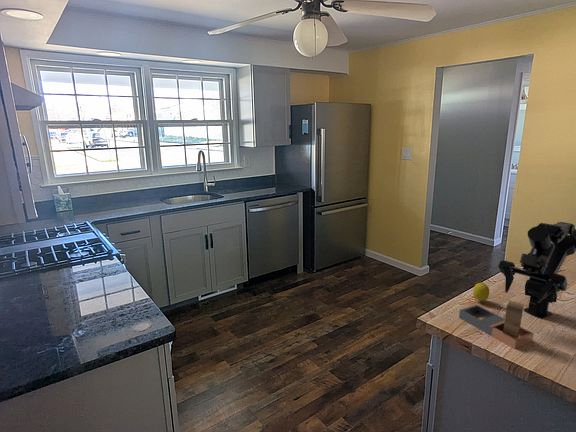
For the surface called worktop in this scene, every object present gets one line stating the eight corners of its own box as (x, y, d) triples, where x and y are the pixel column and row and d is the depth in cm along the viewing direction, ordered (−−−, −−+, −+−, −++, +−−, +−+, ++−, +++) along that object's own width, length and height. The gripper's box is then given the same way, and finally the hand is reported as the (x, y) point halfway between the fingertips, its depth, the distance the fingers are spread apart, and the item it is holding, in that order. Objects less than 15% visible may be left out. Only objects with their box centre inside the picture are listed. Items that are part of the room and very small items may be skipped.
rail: (475, 311, 133) (476, 304, 132) (532, 341, 115) (533, 332, 114) (459, 317, 129) (459, 309, 129) (514, 348, 111) (516, 339, 110)
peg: (504, 333, 120) (509, 300, 116) (518, 337, 117) (523, 303, 114) (502, 338, 117) (507, 305, 114) (516, 343, 114) (521, 309, 111)
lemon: (474, 296, 144) (476, 278, 142) (489, 300, 141) (492, 282, 138) (470, 302, 140) (472, 283, 138) (486, 306, 136) (488, 287, 134)
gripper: (503, 237, 122) (485, 276, 118) (571, 251, 108) (552, 296, 104) (510, 253, 129) (493, 291, 125) (574, 269, 115) (557, 312, 111)
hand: (521, 297), depth 116 cm, fingers open, 9 cm apart
